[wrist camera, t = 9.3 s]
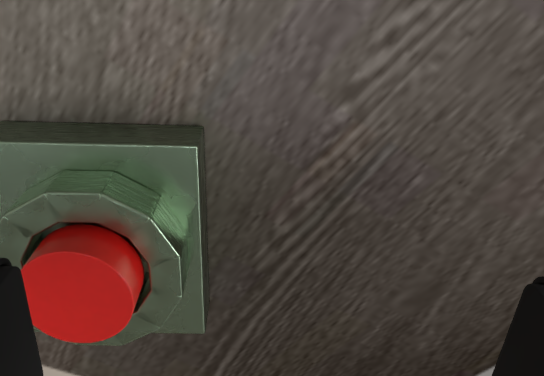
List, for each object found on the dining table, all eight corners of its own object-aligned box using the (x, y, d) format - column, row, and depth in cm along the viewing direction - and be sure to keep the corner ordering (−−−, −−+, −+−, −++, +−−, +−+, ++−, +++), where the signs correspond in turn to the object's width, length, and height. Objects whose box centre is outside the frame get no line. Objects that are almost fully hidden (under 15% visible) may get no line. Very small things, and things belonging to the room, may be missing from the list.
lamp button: (148, 311, 19) (138, 344, 18) (45, 310, 19) (26, 343, 18) (139, 224, 17) (127, 252, 16) (25, 222, 17) (2, 250, 16)
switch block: (209, 301, 24) (200, 366, 20) (42, 299, 23) (2, 364, 20) (204, 125, 20) (191, 166, 16) (0, 120, 19) (-59, 161, 16)
